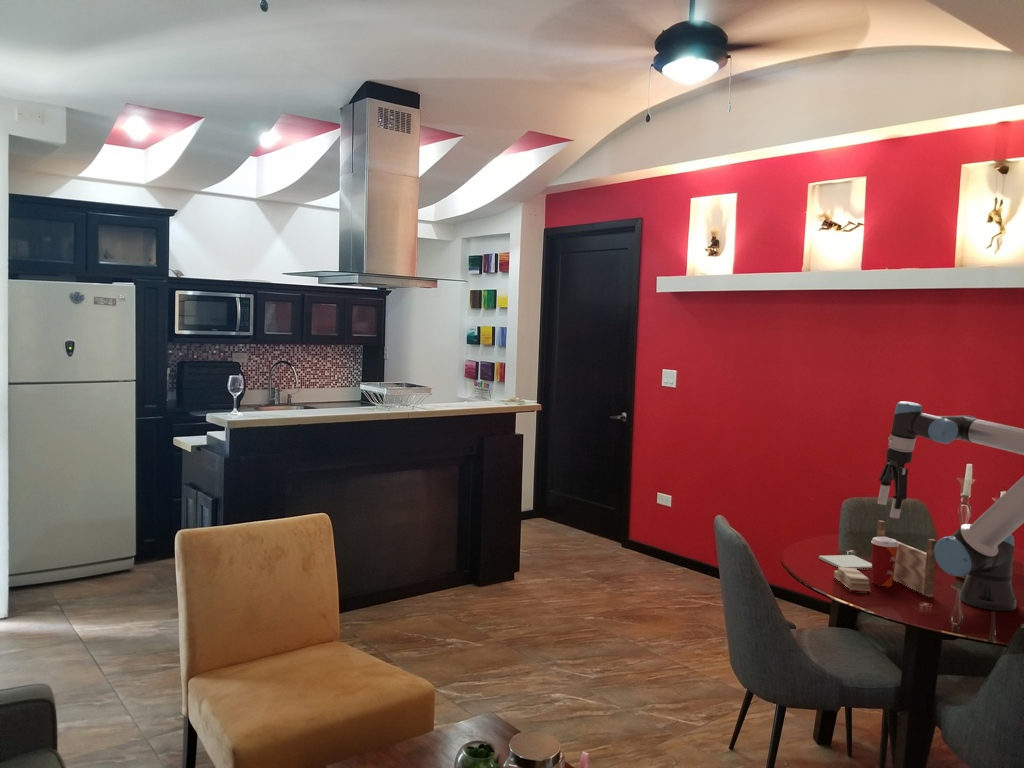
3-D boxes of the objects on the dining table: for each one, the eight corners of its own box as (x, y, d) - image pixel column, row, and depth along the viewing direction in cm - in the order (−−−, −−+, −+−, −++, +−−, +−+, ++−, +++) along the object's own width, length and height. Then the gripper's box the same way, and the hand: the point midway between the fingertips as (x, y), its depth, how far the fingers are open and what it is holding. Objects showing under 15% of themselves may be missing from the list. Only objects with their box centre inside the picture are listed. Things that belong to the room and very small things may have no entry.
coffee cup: (897, 589, 255) (900, 544, 254) (869, 586, 258) (872, 540, 257) (893, 582, 263) (897, 537, 262) (866, 579, 266) (869, 535, 265)
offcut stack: (870, 593, 251) (871, 579, 251) (850, 592, 251) (850, 578, 251) (852, 579, 265) (853, 566, 265) (833, 578, 265) (833, 565, 265)
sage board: (877, 569, 278) (877, 566, 278) (841, 569, 275) (841, 567, 275) (853, 557, 292) (853, 555, 292) (818, 558, 289) (818, 555, 289)
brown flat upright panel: (932, 596, 249) (936, 540, 248) (927, 597, 249) (931, 540, 248) (878, 571, 275) (882, 520, 274) (874, 571, 274) (877, 520, 273)
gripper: (877, 438, 270) (865, 497, 274) (900, 457, 246) (887, 521, 250) (900, 441, 269) (888, 500, 273) (926, 460, 245) (912, 525, 249)
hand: (887, 510), depth 261 cm, fingers open, 13 cm apart
